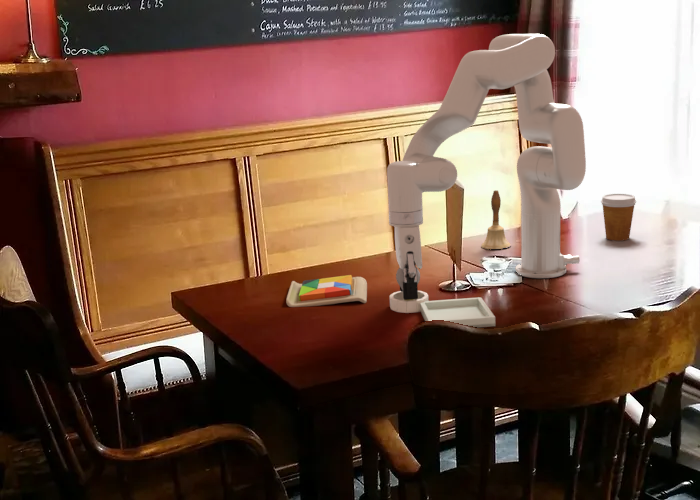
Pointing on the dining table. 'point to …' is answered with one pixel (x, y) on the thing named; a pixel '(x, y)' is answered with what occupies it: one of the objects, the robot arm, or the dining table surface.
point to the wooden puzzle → (327, 291)
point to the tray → (459, 311)
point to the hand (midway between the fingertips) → (408, 294)
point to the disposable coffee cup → (618, 215)
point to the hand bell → (495, 227)
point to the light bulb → (401, 277)
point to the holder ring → (407, 302)
